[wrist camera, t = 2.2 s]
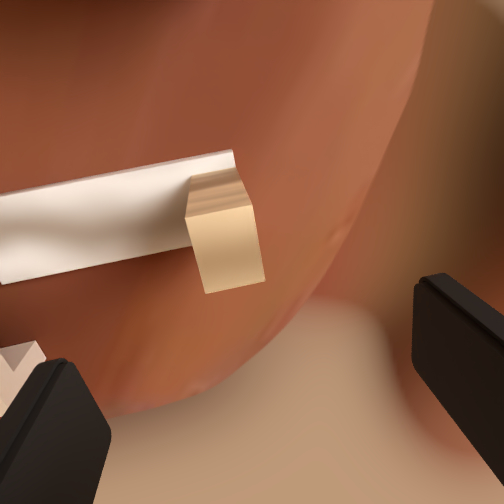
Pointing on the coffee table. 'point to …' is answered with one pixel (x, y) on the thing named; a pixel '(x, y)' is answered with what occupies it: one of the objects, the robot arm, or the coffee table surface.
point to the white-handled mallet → (135, 221)
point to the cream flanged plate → (16, 369)
